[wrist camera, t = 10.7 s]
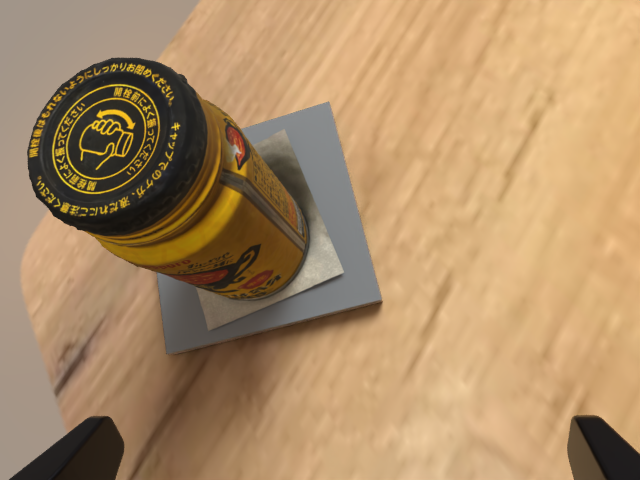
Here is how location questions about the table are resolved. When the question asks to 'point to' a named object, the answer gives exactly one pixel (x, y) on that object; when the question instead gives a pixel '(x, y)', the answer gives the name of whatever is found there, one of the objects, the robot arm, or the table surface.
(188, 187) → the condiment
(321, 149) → the coaster board
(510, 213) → the table surface
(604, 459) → the robot arm
